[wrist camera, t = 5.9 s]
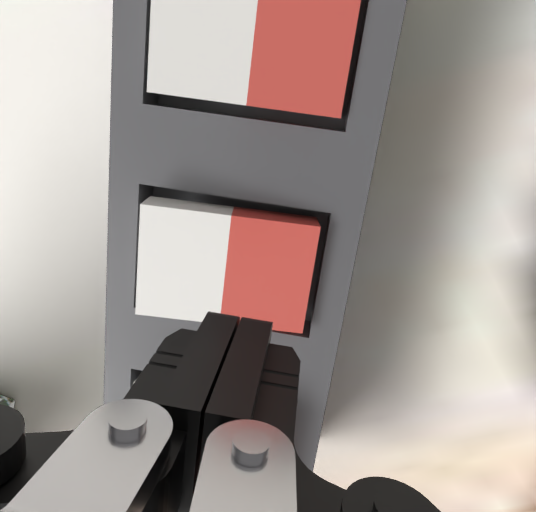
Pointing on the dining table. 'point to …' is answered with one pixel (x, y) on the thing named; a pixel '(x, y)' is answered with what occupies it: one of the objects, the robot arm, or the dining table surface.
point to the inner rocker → (254, 52)
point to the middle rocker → (224, 262)
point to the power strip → (243, 190)
